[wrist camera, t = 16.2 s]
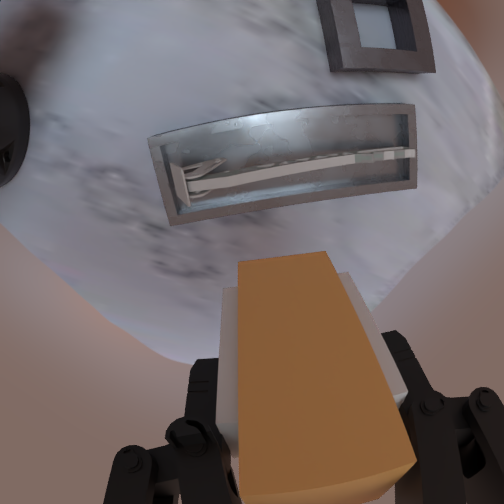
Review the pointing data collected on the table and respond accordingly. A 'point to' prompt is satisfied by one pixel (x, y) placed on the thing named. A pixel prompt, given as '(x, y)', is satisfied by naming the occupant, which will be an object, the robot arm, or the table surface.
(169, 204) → the tray
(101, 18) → the table surface
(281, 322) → the tan rectangular block
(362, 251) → the table surface
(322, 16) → the socket
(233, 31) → the table surface
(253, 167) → the bracket
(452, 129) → the table surface
